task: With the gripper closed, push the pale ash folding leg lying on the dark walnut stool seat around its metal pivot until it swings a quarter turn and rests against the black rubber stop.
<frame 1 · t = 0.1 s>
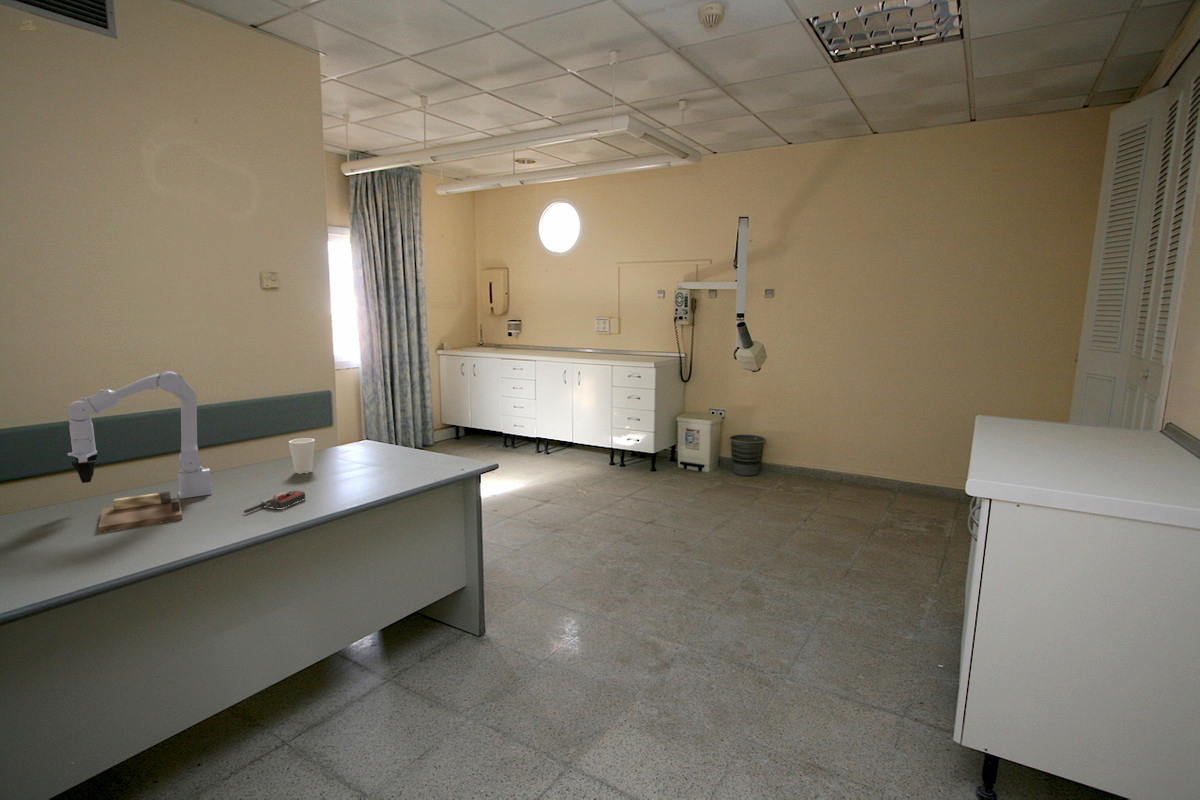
hand: (87, 479, 191), 10 cm above the table, tool pointing down, fingers open, 7 cm apart
stool seat: (142, 516, 187), on the table
foam cup: (303, 472, 241), on the table
folding leg: (142, 500, 191), point 4 cm above the table, hinge at 0.0°
walkie-talkie: (277, 507, 199), on the table
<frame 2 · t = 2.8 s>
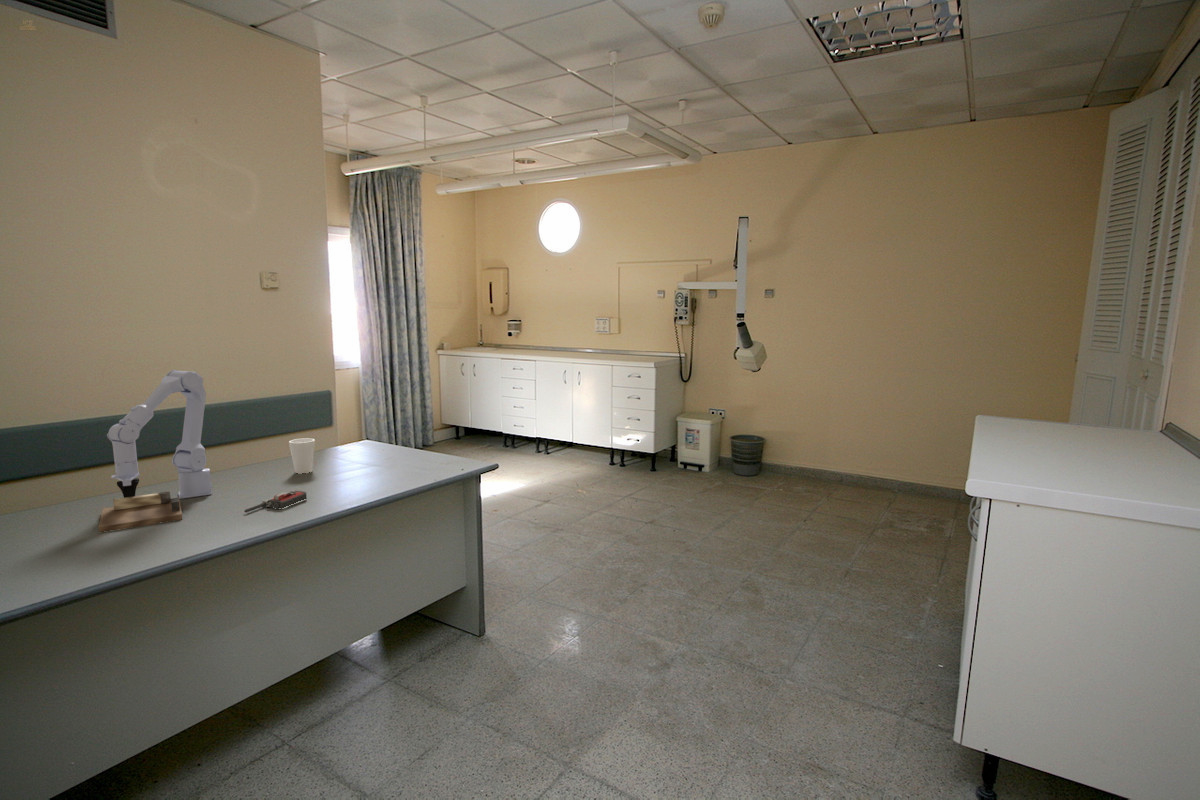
hand: (130, 502, 191), 3 cm above the table, tool pointing down, fingers closed, pressing on folding leg
folding leg: (142, 500, 191), point 4 cm above the table, hinge at 0.7°, touching gripper
everything else where it was.
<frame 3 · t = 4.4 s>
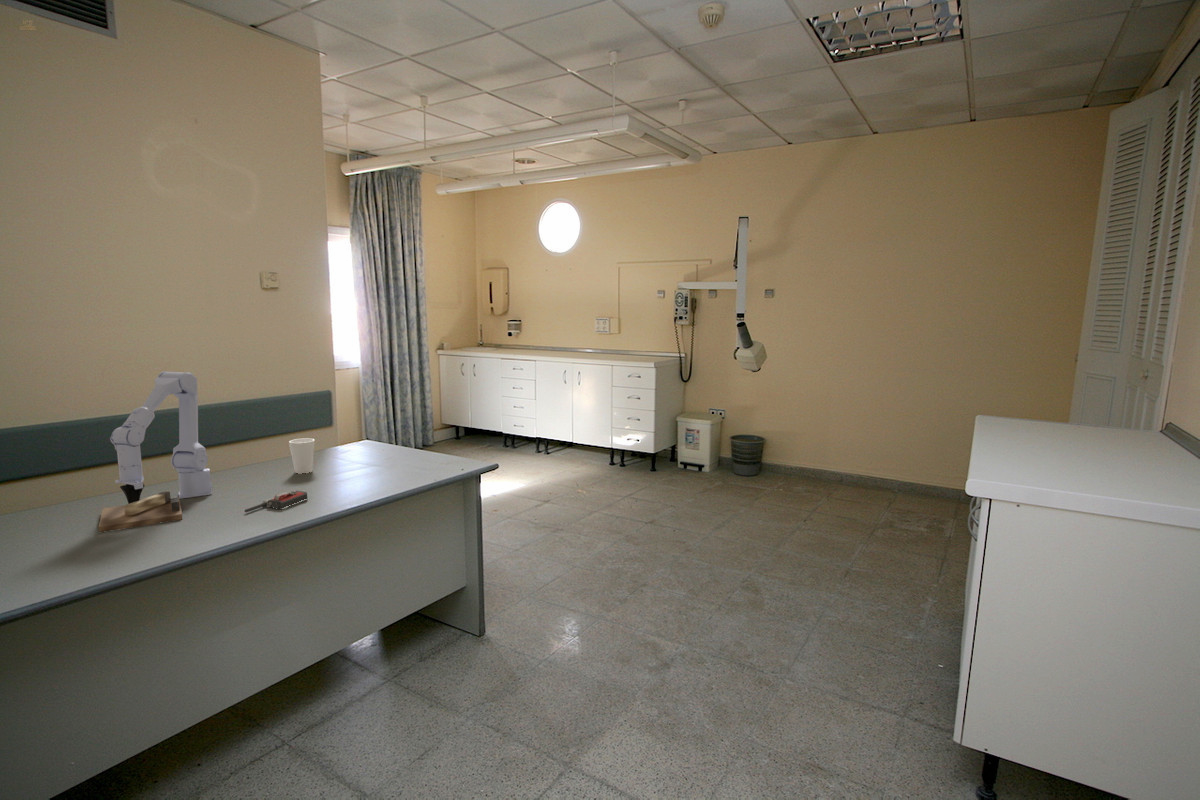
hand: (134, 506, 187), 3 cm above the table, tool pointing down, fingers closed, pressing on folding leg
folding leg: (149, 502, 189), point 4 cm above the table, hinge at 44.9°, touching gripper
everything else where it was.
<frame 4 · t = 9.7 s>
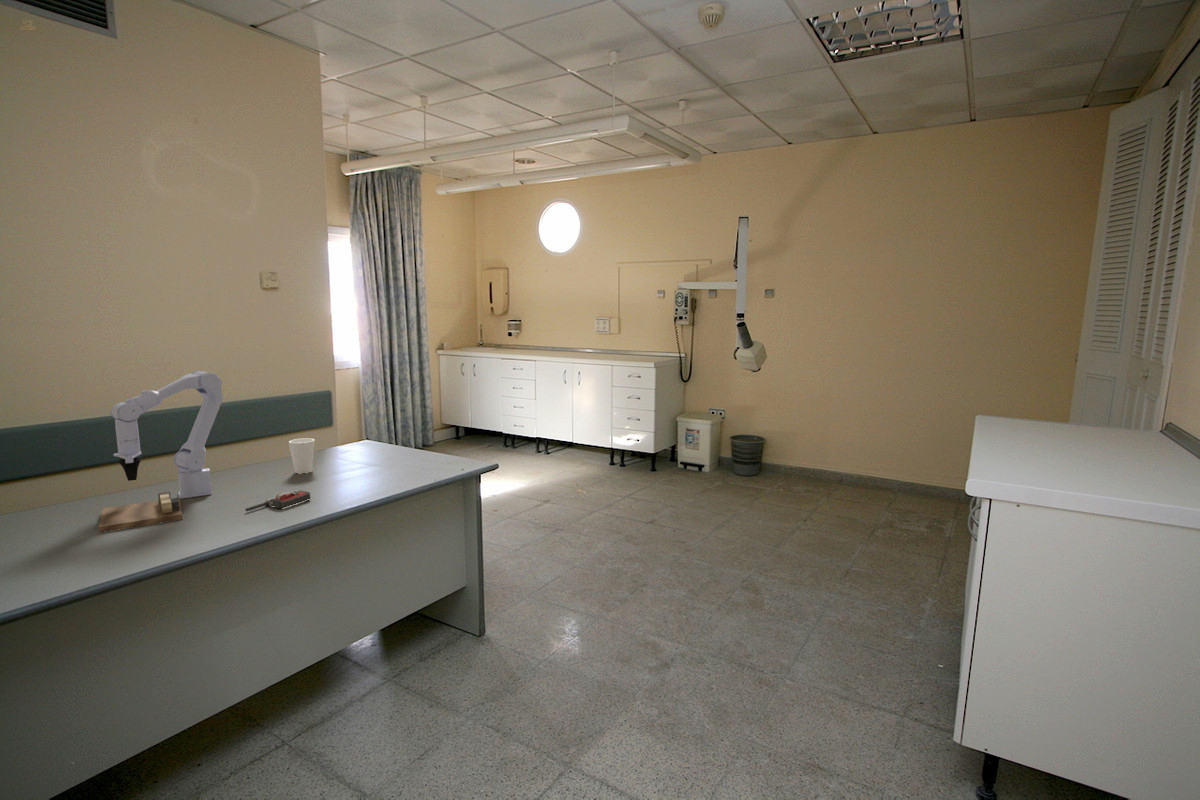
hand: (132, 479, 194), 9 cm above the table, tool pointing down, fingers closed
folding leg: (165, 501, 190), point 4 cm above the table, hinge at 91.9°
at the end: folding leg at +92° (first picture: +0°); walkie-talkie moved 1.3 cm from its start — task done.
